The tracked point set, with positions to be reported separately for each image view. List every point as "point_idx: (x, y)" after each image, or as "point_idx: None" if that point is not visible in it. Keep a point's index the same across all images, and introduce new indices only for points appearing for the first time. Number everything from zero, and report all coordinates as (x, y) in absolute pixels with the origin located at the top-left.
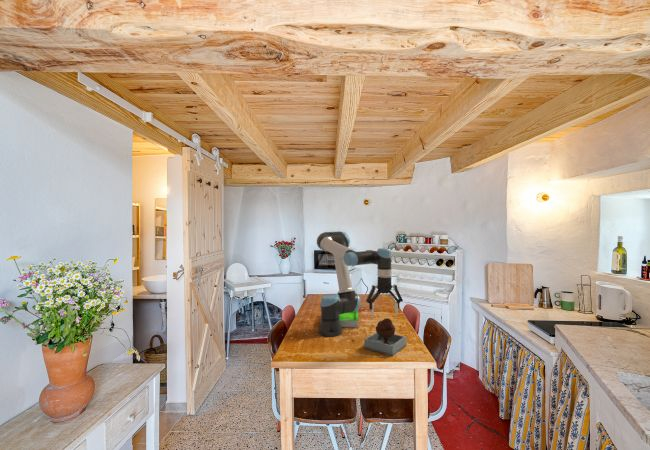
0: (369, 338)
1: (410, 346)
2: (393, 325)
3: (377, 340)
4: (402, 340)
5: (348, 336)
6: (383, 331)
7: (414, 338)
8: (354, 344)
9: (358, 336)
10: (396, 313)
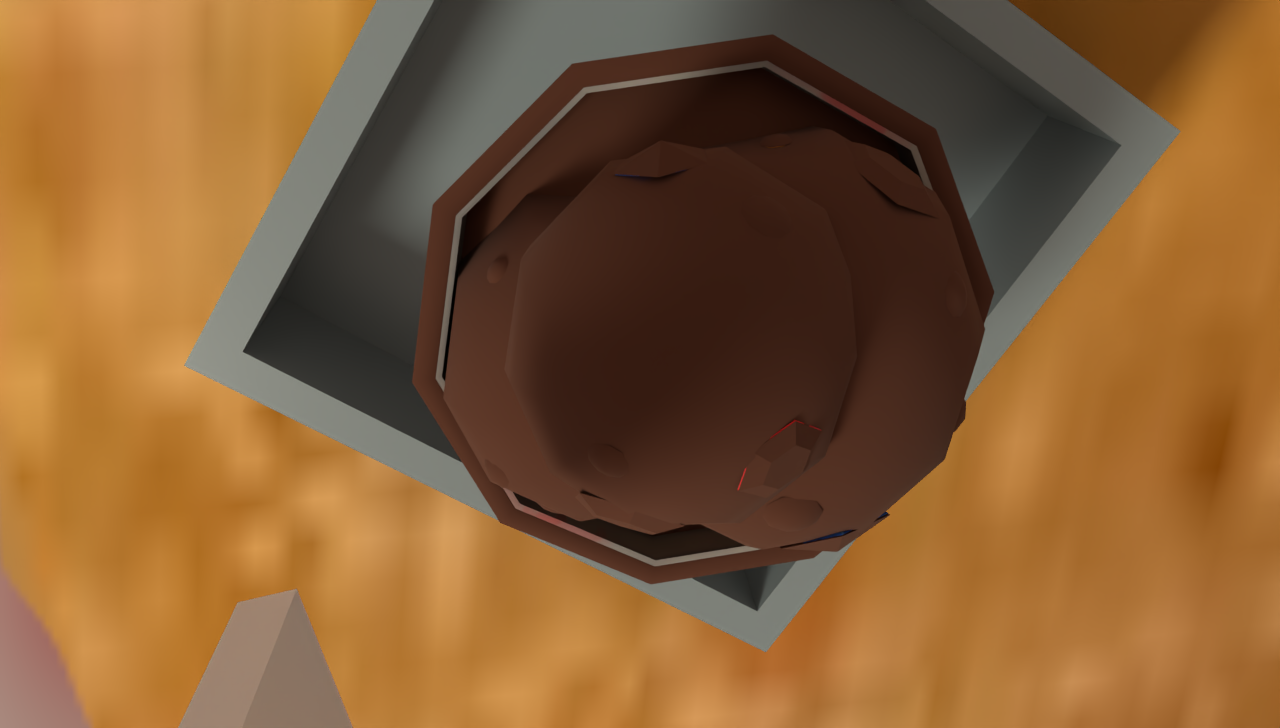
0: (1029, 245)
1: (159, 261)
2: (470, 370)
3: None
4: (286, 174)
5: (1249, 617)
6: (804, 56)
7: (80, 639)
8: (1224, 280)
9: (1080, 632)
10: (285, 631)
